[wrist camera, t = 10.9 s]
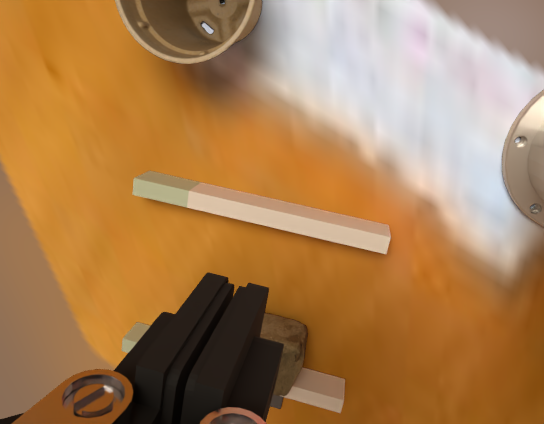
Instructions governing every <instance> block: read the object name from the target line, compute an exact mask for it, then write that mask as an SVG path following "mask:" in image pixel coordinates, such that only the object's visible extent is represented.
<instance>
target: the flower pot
mask: <svg viewBox="0 0 544 424" xmlns="http://www.w3.org/2000/svg"><path fill="white" fill-rule="evenodd" d="M115 2H116V6H117V9H118V11H119V14H120V16H121V18H122V20H123V23H124V24H125V26H126V28H127V29H128V31H129V32H130V33H131V35H132V36H133V37H134V38H135V40H136V41H137V42H138V43H139V44H140V45H141V46H143V47H144V48H145V49H146V50H148V51H149V52H150V53H152V54H154V55H155V56H157V57H159V58H162V59H164V60H167V61H170V62H174V63H180V64H193V63H200V62H204V61H207V60H209V59H212V58H214V57H216V56H218V55H220V54H221V53H223V52H224V51H225V50H227V49H228V48H229V47H230V46H231V45H232V44H233V43H235V42H238V41H240V40H242V39H243V38H245V37H246V36H247V35H248V34H249V33H250V32H251V31H252V30H253V28H254V27H255V25H256V23H257V21H258V19H259V16H260V13H261V8H262V0H225V4H220V0H115ZM203 21H204V22H205V23H206V24H208V25H209V26H210V27H211V28H212V29H214V32H213V33H212V34H209V33H207V32H206V30H205V29H204V28H203V27H202V26H201V23H202V22H203Z"/></svg>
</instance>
